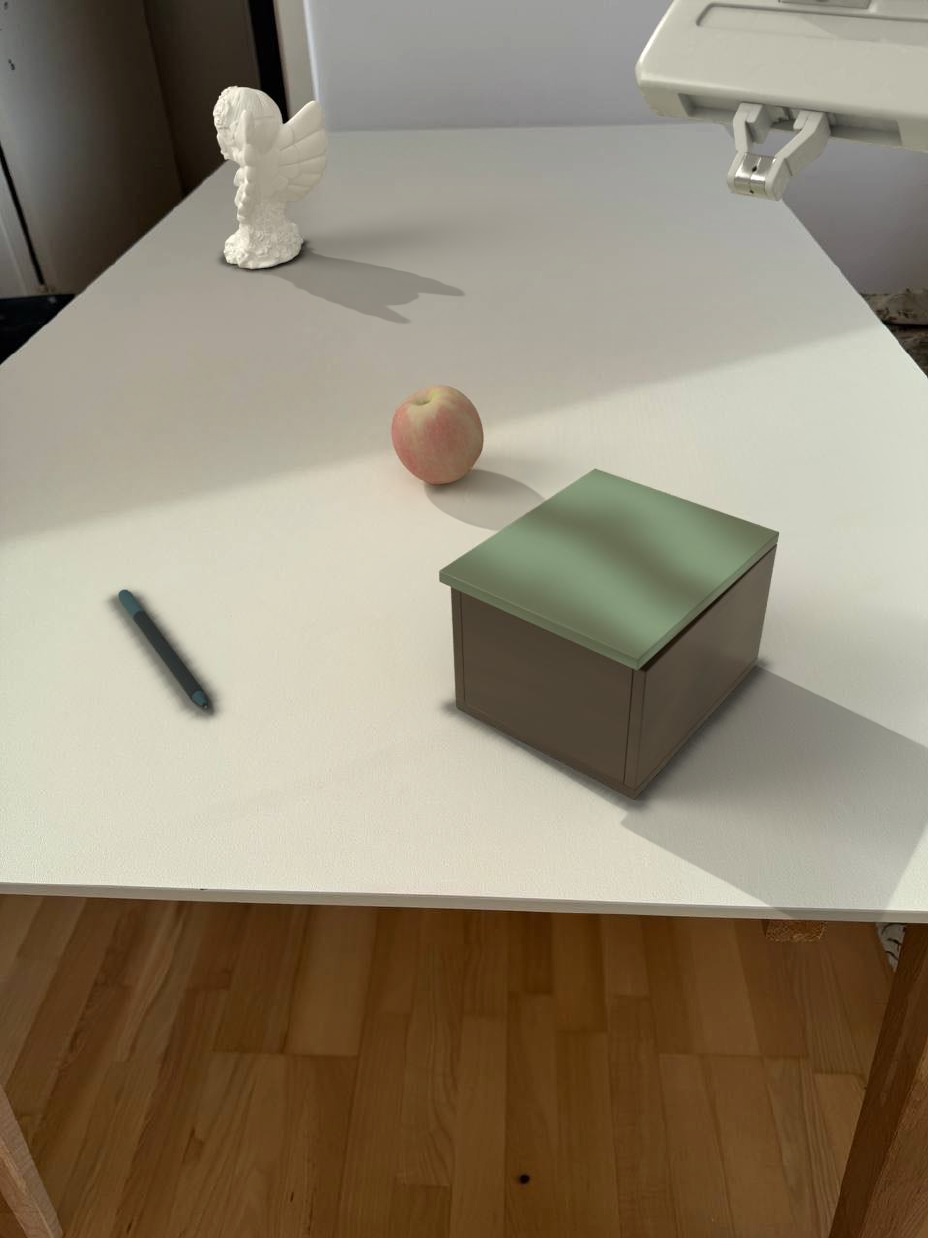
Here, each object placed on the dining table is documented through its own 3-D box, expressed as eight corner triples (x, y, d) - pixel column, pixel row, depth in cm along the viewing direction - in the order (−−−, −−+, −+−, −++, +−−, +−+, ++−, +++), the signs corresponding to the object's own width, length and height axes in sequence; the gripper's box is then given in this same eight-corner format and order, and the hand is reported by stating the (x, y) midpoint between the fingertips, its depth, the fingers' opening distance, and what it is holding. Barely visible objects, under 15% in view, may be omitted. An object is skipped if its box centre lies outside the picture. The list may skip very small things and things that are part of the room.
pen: (200, 700, 71) (216, 701, 72) (118, 586, 82) (133, 588, 82) (195, 714, 71) (211, 714, 72) (114, 599, 82) (128, 600, 83)
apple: (426, 447, 100) (422, 365, 95) (500, 466, 97) (499, 382, 92) (377, 486, 94) (370, 401, 89) (454, 508, 91) (450, 421, 86)
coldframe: (634, 800, 64) (646, 672, 59) (455, 707, 71) (449, 584, 66) (756, 664, 74) (778, 543, 68) (588, 594, 81) (594, 478, 75)
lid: (637, 671, 57) (638, 658, 57) (438, 581, 64) (438, 570, 64) (777, 542, 68) (780, 531, 68) (594, 478, 75) (594, 467, 75)
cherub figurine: (284, 230, 150) (264, 70, 138) (343, 250, 143) (328, 83, 131) (205, 255, 143) (176, 89, 131) (263, 277, 136) (239, 103, 124)
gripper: (677, -75, 66) (580, 135, 65) (1034, -61, 55) (919, 188, 55) (706, 0, 71) (616, 193, 71) (1036, 25, 60) (932, 252, 60)
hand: (751, 191), depth 63 cm, fingers closed
